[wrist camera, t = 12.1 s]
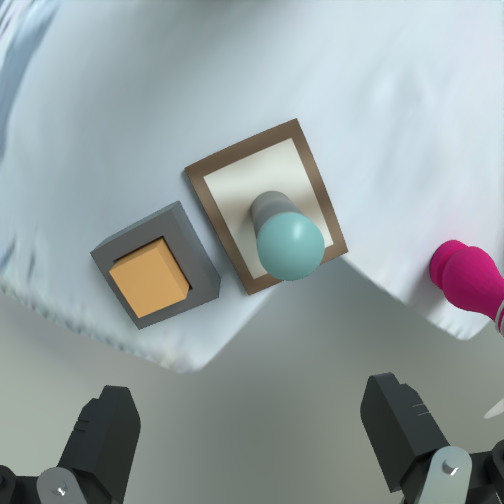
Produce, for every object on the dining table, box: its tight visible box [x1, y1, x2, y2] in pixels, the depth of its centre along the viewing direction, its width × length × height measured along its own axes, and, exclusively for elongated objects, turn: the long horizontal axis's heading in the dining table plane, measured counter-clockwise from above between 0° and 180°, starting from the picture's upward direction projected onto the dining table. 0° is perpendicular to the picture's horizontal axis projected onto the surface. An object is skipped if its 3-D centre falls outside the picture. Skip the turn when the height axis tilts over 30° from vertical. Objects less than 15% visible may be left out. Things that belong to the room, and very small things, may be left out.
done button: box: [109, 235, 190, 318], centre depth 27 cm, size 5×5×4 cm
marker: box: [250, 191, 325, 281], centre depth 24 cm, size 4×4×10 cm
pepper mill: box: [430, 240, 504, 337], centre depth 23 cm, size 7×7×20 cm
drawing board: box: [185, 118, 348, 295], centre depth 29 cm, size 14×11×1 cm
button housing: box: [90, 200, 220, 330], centre depth 29 cm, size 9×9×4 cm
